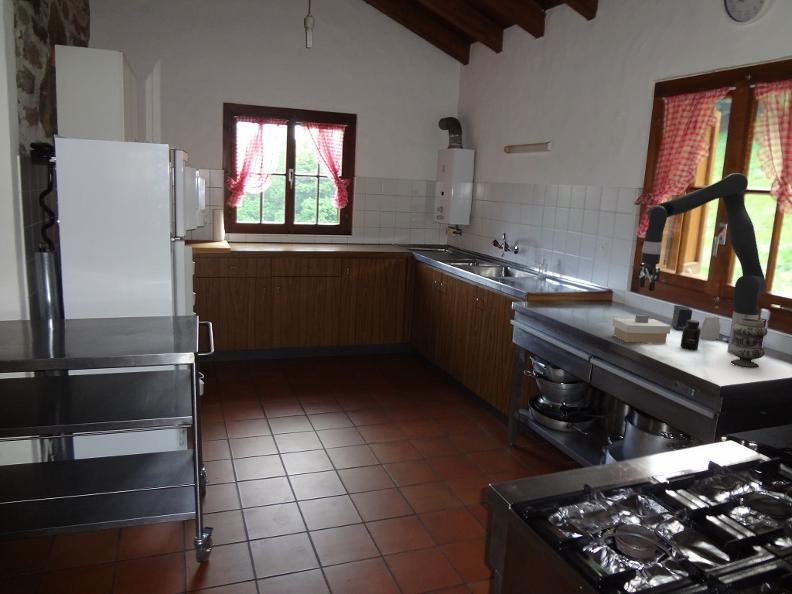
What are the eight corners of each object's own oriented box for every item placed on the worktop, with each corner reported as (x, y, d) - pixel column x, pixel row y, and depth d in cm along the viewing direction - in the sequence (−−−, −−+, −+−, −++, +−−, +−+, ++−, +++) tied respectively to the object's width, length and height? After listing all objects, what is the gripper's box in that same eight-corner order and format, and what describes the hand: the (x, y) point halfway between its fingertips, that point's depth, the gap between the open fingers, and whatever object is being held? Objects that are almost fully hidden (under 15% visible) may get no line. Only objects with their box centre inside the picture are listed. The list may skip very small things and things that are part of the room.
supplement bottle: (687, 350, 262) (691, 322, 259) (676, 346, 268) (680, 319, 266) (701, 350, 263) (705, 322, 261) (690, 346, 270) (694, 319, 268)
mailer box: (665, 343, 273) (667, 327, 272) (626, 342, 270) (628, 326, 269) (651, 336, 284) (653, 321, 283) (613, 335, 282) (615, 320, 281)
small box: (690, 331, 300) (693, 310, 298) (675, 330, 301) (678, 308, 299) (684, 326, 310) (687, 306, 308) (670, 325, 311) (673, 304, 309)
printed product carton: (718, 340, 285) (721, 318, 283) (705, 339, 284) (708, 318, 282) (712, 338, 288) (716, 316, 287) (700, 337, 287) (703, 316, 285)
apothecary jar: (750, 361, 251) (757, 317, 247) (769, 370, 239) (776, 324, 236) (720, 359, 250) (727, 315, 247) (738, 368, 238) (745, 322, 235)
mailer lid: (669, 333, 271) (671, 319, 270) (627, 332, 269) (628, 318, 268) (653, 326, 285) (655, 312, 283) (612, 325, 282) (614, 311, 281)
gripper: (668, 254, 264) (662, 292, 267) (651, 250, 278) (646, 286, 281) (651, 254, 263) (645, 291, 266) (635, 249, 277) (630, 285, 280)
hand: (646, 289), depth 274 cm, fingers open, 8 cm apart
